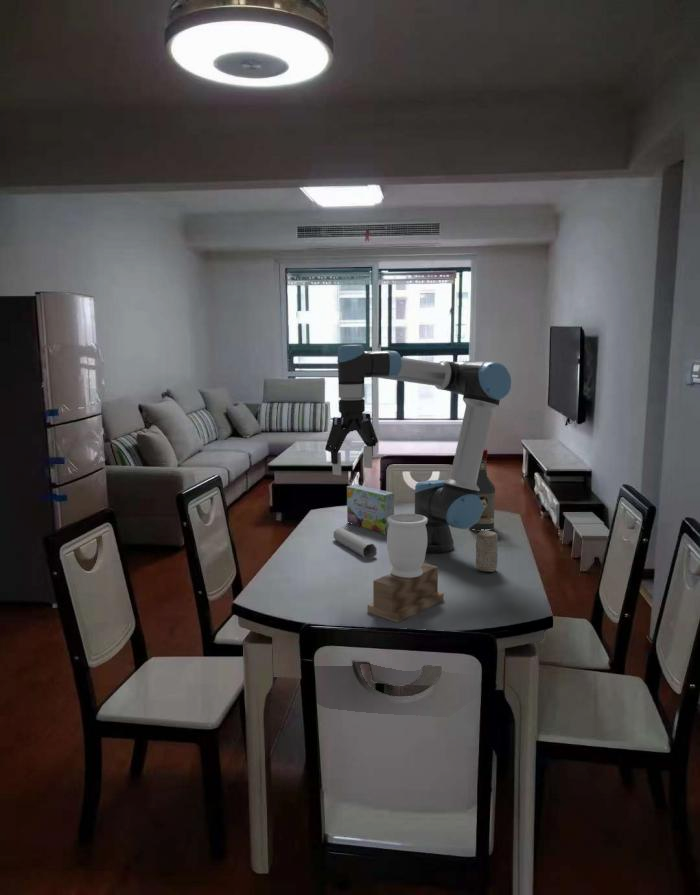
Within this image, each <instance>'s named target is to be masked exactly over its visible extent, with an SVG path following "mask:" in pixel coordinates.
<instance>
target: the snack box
mask: <svg viewBox="0 0 700 895" xmlns="http://www.w3.org/2000/svg"><path fill="white" fill-rule="evenodd" d="M346 508H347V509H346V510H347V518H346V519H347V523H348V522H349V523H348V524H350V523H352V524H351V525H353V524H355V525H354V526H356V525H358V526H357V527H360V526H361V527H360V528H363V527H364V528H363V529H366V528H367V529H366V530H371V531H374V532H377V533H379V532H380V534H383V535H386V534H387V532H388V527H389V523H388V522H387V518H388V517H389V516H392V515H395V493H394V492H390V491H387V490H382V489H378V488H373V487H370V486H366V485H360V484H351V485H347V486H346Z"/></svg>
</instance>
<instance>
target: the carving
mask: <svg viewBox="0 0 700 895" xmlns="http://www.w3.org/2000/svg"><path fill="white" fill-rule="evenodd" d="M498 538H499V537H498V533H496V532H494V531H493V530H491V531H478V532H477V535H476V538H475V539H476V542H475V554H476V555H475V567H476V569H477V570H478V571H481V572H486V573H487V572H489V573H493V572H496V570H497V566H498V542H499V541H498V540H499V539H498Z"/></svg>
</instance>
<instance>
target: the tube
mask: <svg viewBox="0 0 700 895" xmlns="http://www.w3.org/2000/svg"><path fill="white" fill-rule="evenodd" d="M333 539H334V540H335V541H336V542H337V541H338V542H337V543H339V544H341V545H342V544H343V546H344V547H346V548H347V547H348V549H349V550H351V551H352V550H353V551H352V552H354V553H356V554H357V553H358V554H357V555H359V556H361V557H362V558H364V559H365V560H370V559H374V557H376V555H377V551H378V549H377V547H376V545H375V544H374V543H373V542H370V541H368V540H365V539H364V538H362V537H360V536H358V535H356V534H355V533H353V532H350V531H349V530H347V529H345V528H343V527H340V528H336V529H335V530H334V531H333Z"/></svg>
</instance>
